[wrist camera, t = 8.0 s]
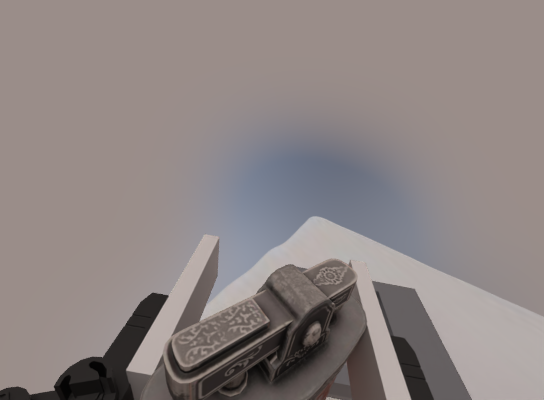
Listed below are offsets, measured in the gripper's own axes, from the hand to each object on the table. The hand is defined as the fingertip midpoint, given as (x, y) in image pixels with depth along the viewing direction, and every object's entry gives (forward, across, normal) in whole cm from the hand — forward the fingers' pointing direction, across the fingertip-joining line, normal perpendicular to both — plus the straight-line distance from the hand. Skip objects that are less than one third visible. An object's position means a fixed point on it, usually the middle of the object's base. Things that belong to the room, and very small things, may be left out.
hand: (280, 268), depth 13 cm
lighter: (-5, 0, -6) cm, 8 cm away
